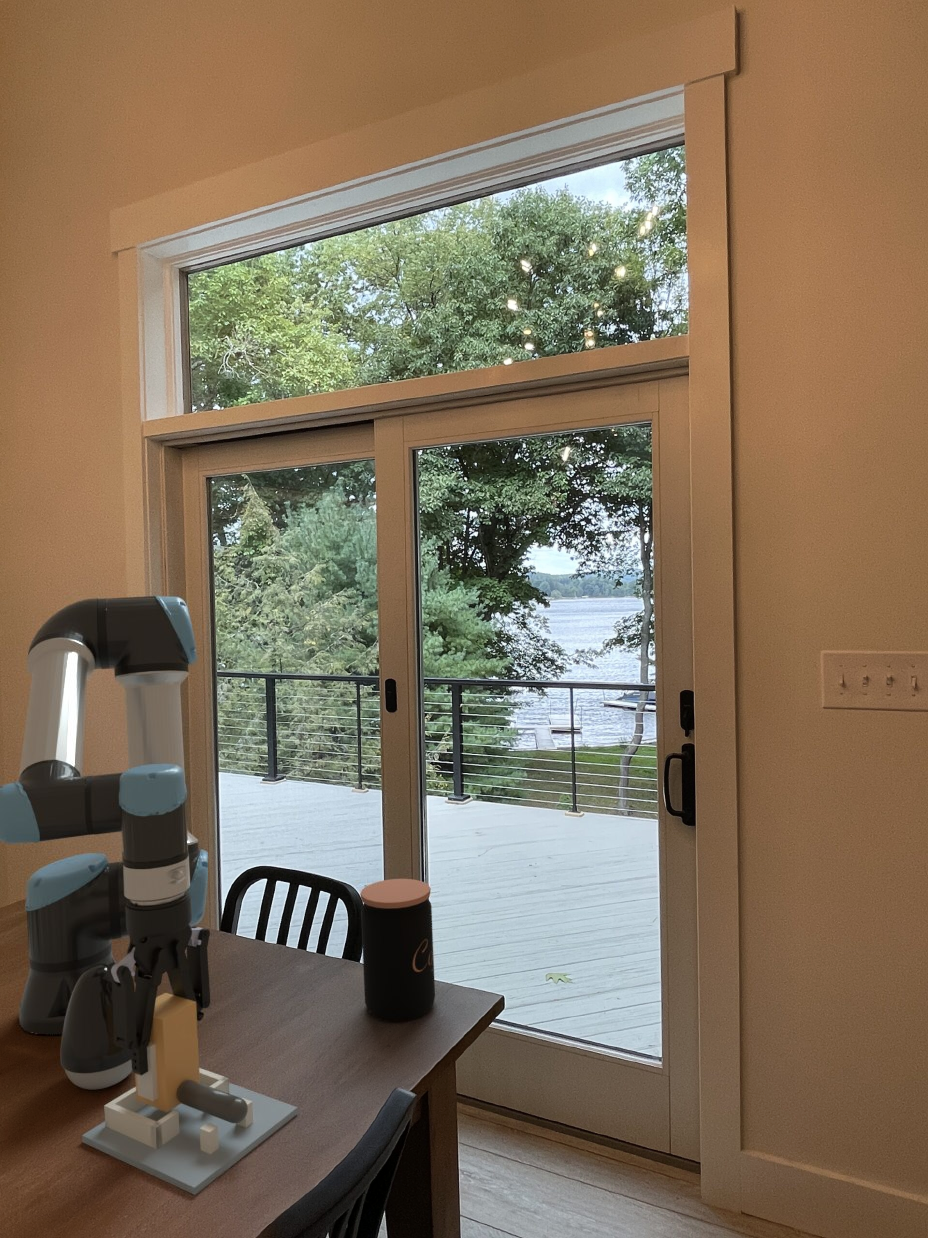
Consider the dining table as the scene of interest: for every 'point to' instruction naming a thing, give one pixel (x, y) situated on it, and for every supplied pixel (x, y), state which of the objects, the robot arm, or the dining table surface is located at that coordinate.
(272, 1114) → the board
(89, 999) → the dark grey egg shape
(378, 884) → the coffee jar
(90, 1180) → the dining table surface
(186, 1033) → the plug
